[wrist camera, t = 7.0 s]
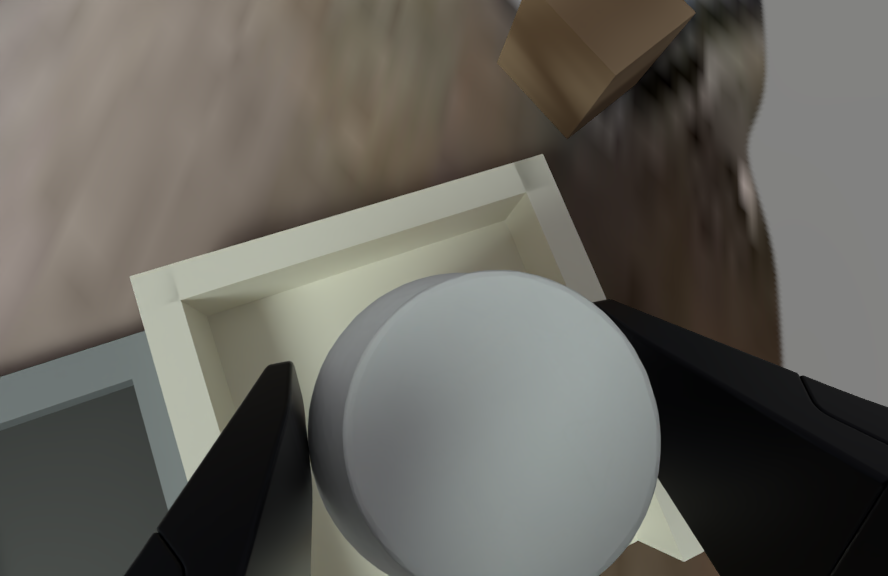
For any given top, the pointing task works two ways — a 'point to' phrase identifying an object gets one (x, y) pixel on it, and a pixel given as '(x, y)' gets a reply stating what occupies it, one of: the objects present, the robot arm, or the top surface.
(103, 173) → the top surface
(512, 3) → the top surface
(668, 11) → the walnut block
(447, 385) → the supplement bottle
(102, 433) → the holed board
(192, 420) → the tray
